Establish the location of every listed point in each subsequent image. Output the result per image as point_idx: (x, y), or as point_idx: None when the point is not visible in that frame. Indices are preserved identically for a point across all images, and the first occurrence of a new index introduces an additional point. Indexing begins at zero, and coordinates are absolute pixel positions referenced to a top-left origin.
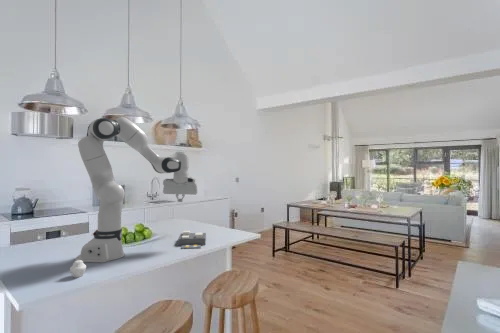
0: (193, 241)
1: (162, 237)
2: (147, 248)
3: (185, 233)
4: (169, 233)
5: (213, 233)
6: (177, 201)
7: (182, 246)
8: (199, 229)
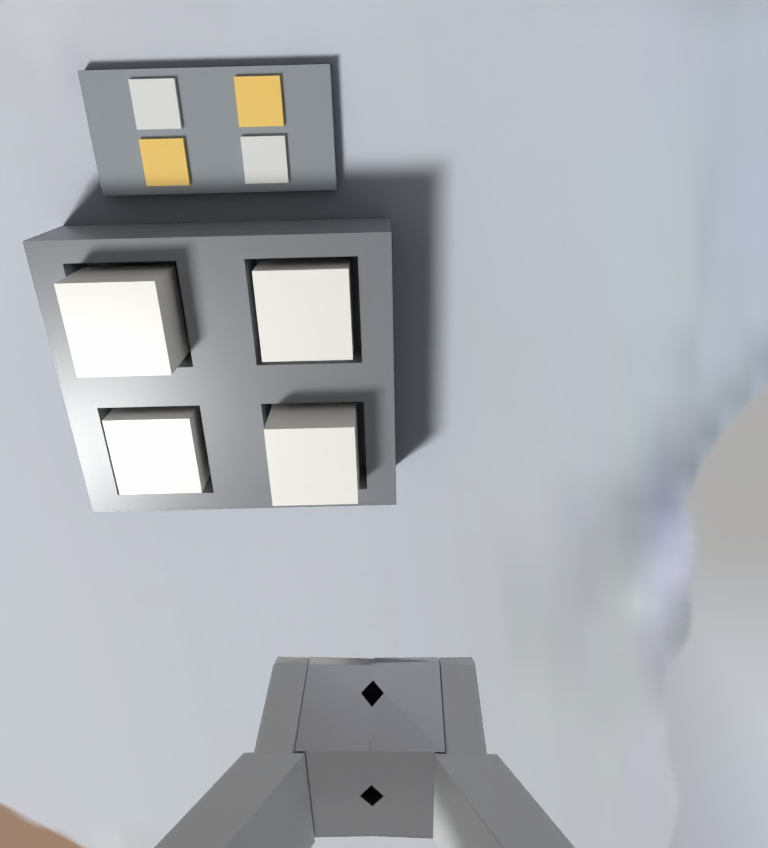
0: (193, 230)
1: (596, 560)
2: (750, 125)
3: (321, 420)
4: (537, 685)
5: (93, 663)
6: (472, 661)
7: (322, 130)
8: None
